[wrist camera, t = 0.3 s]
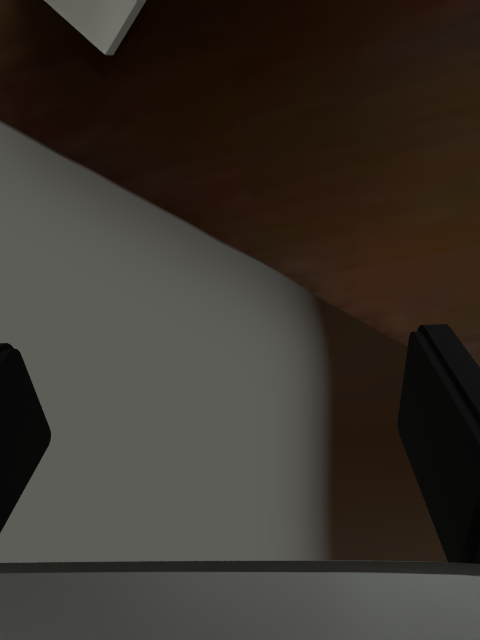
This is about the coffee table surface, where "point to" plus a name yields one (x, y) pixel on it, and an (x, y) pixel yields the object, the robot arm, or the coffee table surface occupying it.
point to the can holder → (100, 19)
